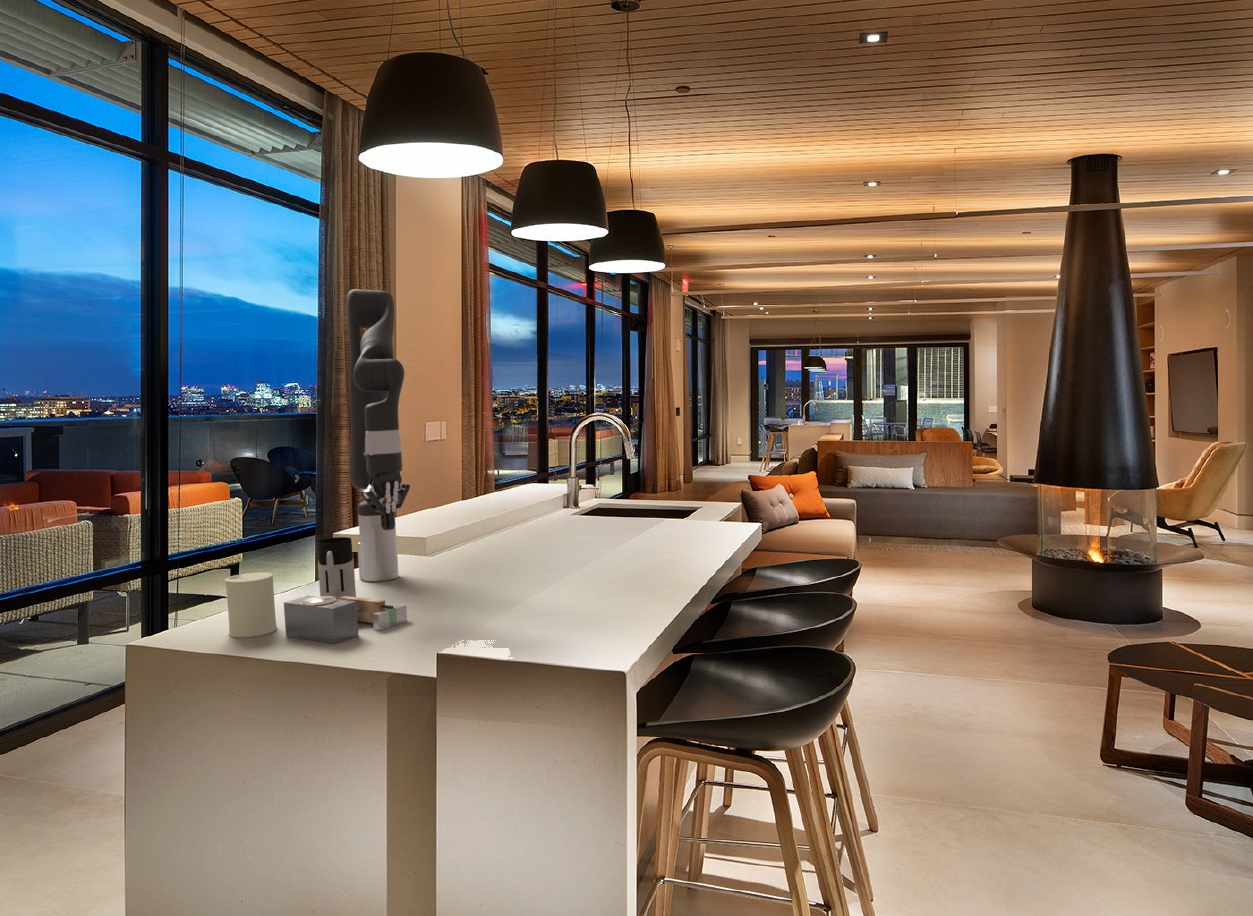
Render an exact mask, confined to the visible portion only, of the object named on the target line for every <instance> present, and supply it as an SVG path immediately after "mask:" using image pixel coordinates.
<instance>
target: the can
mask: <svg viewBox="0 0 1253 916" xmlns="http://www.w3.org/2000/svg"><path fill="white" fill-rule="evenodd" d="M224 582H225V589H226V590H225V591H226V598H227V599H226V600H227V611H228V612H227V613H228V626H229V627H228V628H229V630H228V631H229V632H228V635H229V636H230V637H232V638H237V639H238V638H239V639H240V638H241V639H242V638H243V637H247V638H255V637H254V636H256V637H260V636H266V635H267V634H271V633H273V632H275V631H276V630H277V629H278V626H277V621H276V620H277V618H276V606H275V605H276V604H275V594H274V593H275V592H274V590H275V589H274V574H273V573H272V572H265V571H263V572H262V571H261V572H260V571H258V572H255V571H254V572H248V573H241V574H237V575H236V574H234V575H231V576H229V577H227V578H226V579H225V580H224ZM243 639H244V638H243Z"/></svg>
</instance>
